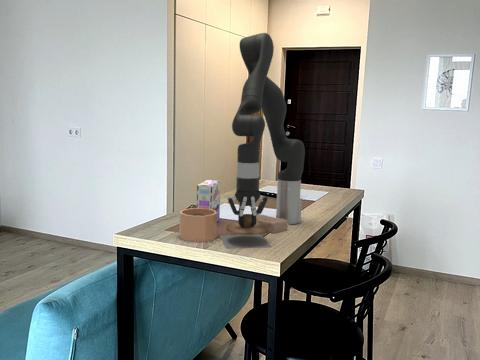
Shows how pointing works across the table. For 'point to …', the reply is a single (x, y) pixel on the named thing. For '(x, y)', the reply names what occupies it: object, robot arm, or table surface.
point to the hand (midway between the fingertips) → (247, 226)
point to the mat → (244, 241)
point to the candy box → (209, 196)
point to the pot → (198, 225)
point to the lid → (247, 227)
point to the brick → (272, 223)
